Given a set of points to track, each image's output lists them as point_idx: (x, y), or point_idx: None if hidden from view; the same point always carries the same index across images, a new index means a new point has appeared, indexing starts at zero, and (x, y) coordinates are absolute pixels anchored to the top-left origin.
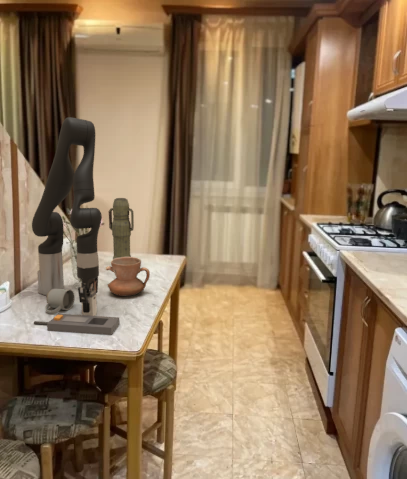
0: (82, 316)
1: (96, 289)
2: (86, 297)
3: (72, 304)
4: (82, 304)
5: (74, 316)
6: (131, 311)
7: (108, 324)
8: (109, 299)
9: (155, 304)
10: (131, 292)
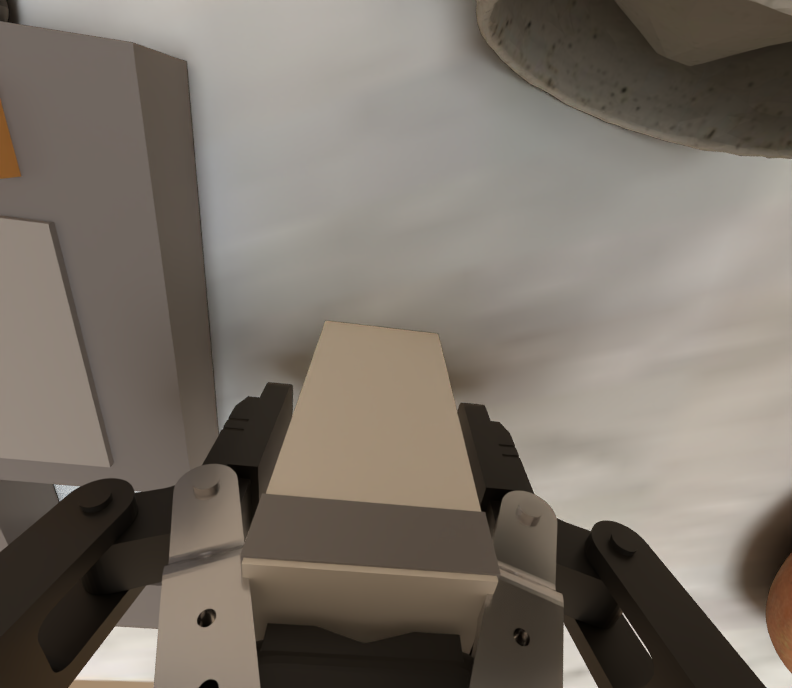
0: (137, 400)
1: (582, 653)
2: (58, 655)
3: (671, 129)
4: (298, 412)
5: (106, 319)
6: None
7: None
8: (780, 453)
9: (574, 678)
10: (772, 634)
